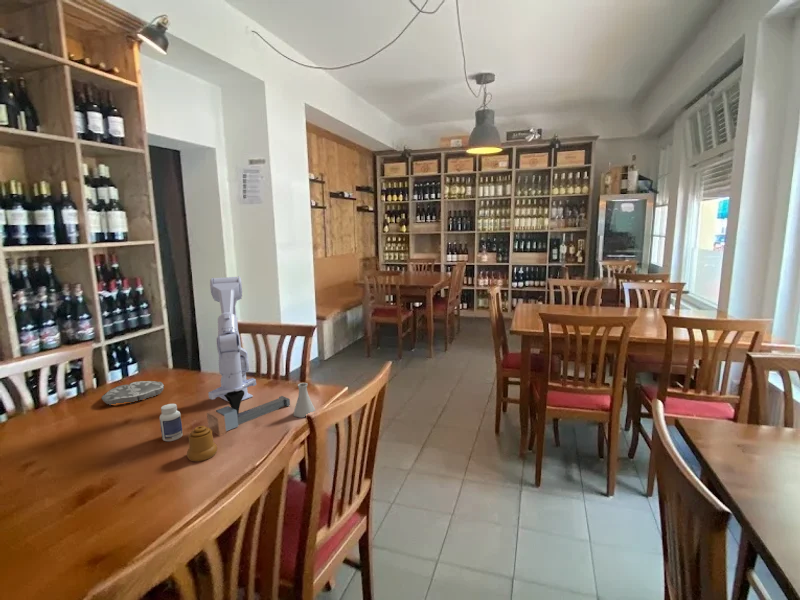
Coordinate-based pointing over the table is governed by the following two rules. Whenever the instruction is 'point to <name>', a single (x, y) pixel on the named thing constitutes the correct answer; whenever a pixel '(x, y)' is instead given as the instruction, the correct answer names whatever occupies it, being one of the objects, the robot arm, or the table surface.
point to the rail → (244, 414)
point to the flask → (303, 402)
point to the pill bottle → (170, 423)
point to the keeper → (229, 417)
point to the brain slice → (133, 392)
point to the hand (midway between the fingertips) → (235, 413)
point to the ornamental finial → (201, 444)
